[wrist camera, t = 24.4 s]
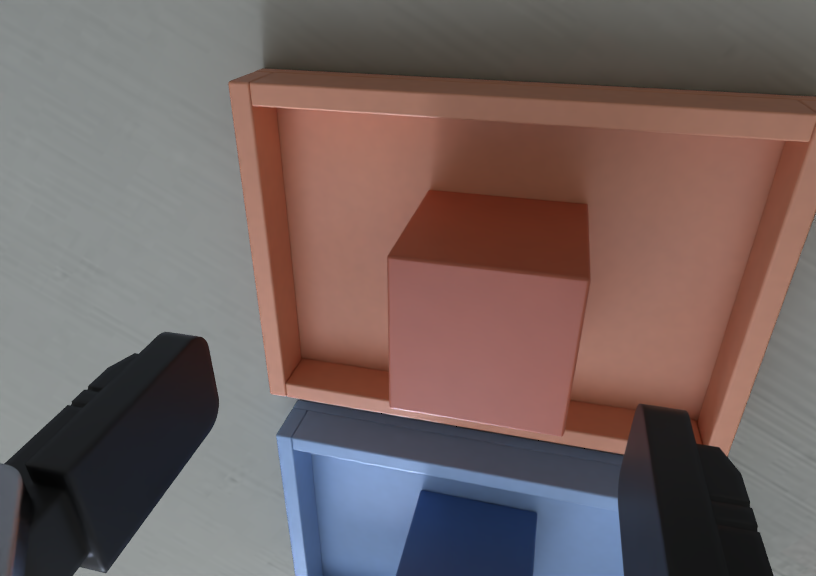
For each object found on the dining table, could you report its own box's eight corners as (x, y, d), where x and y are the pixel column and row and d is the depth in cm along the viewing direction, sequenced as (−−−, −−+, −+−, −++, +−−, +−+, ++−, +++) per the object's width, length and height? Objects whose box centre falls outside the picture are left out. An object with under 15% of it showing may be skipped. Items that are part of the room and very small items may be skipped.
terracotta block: (425, 320, 19) (388, 409, 15) (427, 188, 17) (385, 255, 13) (566, 339, 18) (563, 438, 15) (588, 203, 16) (591, 278, 12)
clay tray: (293, 360, 22) (269, 394, 20) (261, 67, 17) (226, 80, 15) (709, 426, 19) (723, 472, 17) (819, 96, 14) (852, 116, 12)
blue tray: (316, 570, 28) (299, 610, 26) (297, 399, 23) (275, 434, 21) (637, 645, 25) (641, 696, 23) (696, 467, 20) (707, 515, 18)
